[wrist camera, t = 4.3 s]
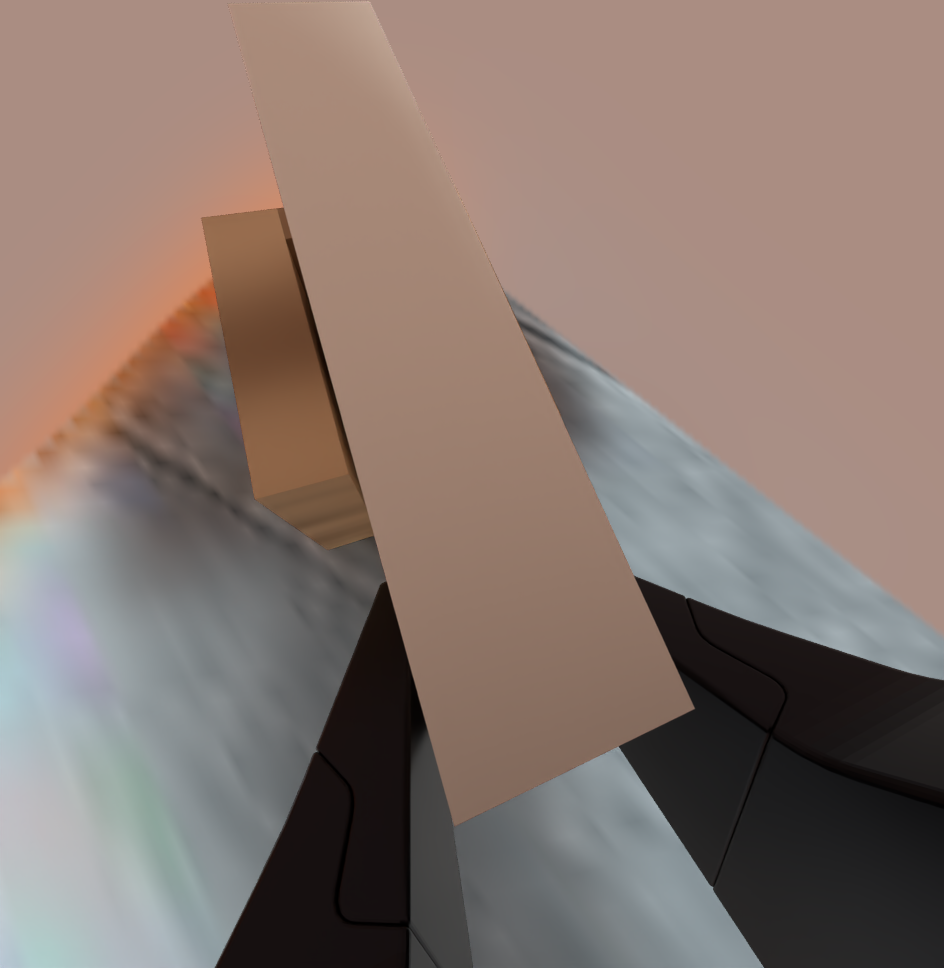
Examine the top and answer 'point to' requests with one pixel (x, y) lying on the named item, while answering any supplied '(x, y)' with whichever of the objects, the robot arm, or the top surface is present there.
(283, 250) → the oak box
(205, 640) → the top surface
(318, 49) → the cover plate
